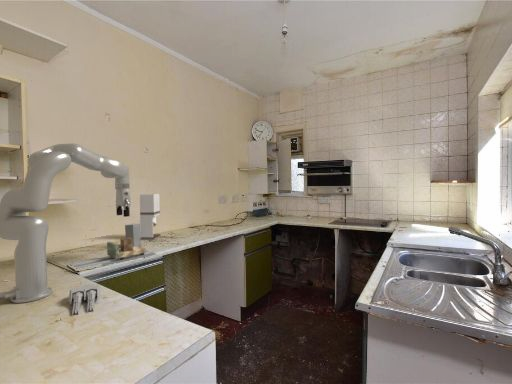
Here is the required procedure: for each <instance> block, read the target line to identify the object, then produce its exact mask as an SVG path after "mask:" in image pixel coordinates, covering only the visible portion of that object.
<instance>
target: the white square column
mask: <svg viewBox="0 0 512 384" xmlns="http://www.w3.org/2000/svg"><path fill="white" fill-rule="evenodd" d="M160 204H161V203H160V193H154V194H153V193H152V194H151V193H150V194H148V193H141V194H139V216H140V217H139V218H140V219H139V221H140V222H139V224H140V230H141V241H155V240H157V239H159V238H161V233H160V234H157V233H155V234H154V228H155V226H156V225H157V217H158V216H160V215H161V209H160V208H161V207H160V206H161V205H160Z"/></svg>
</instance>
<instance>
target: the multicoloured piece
mask: <svg viewBox="0 0 512 384" xmlns="http://www.w3.org/2000/svg"><path fill="white" fill-rule="evenodd" d="M106 250H107V251H106V253H107V254H106V255H107V257H108V256H111V257H113V258H115V259H118V258H120V259H121V260H123V259H124V257H127V256H132V255H136V254H141V255H144V253H145V252H147V251H148V250H147V248H145V247H141V246H134V247H133V250H132V251H127V252H123V251H121V248H120V245H119V244H117V243H115V242H111V241H107V242H106ZM146 250H147V251H146Z"/></svg>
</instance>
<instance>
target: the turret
mask: <svg viewBox="0 0 512 384" xmlns="http://www.w3.org/2000/svg"><path fill="white" fill-rule="evenodd" d="M100 296H101V284H87V283H86V284H84V285H79V286H77V287H74V288H70V289H69V295H68V300H69V303H70V305H72V304H73V307H72V310H71V312H72V313H71V316H74V315H75V316H77V315H79V314H80V309H81V304H82V303H83V301H87V308H86V312H87V313H89V312H90V313H91V312H94V311H95V301H96V300H99V297H100Z"/></svg>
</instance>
